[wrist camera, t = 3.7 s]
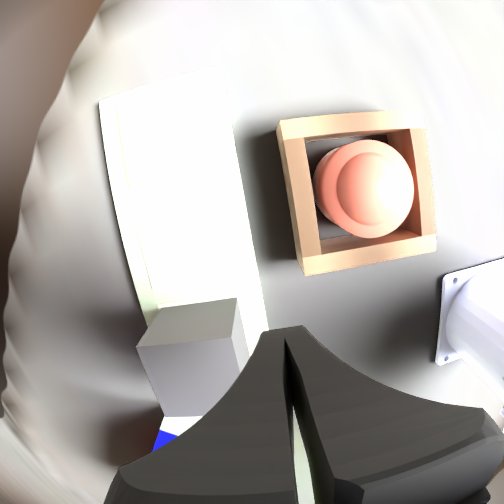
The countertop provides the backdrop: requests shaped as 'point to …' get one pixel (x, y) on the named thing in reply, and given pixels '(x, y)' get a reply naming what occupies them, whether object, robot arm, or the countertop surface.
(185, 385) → the block
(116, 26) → the countertop surface
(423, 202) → the collar
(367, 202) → the dome
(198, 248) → the board
